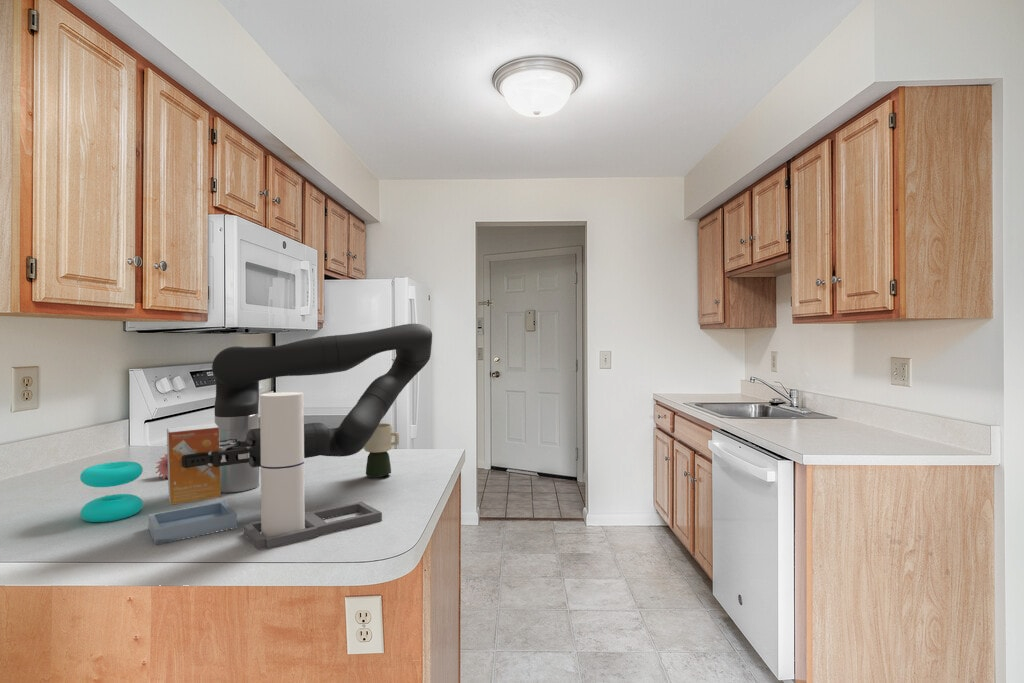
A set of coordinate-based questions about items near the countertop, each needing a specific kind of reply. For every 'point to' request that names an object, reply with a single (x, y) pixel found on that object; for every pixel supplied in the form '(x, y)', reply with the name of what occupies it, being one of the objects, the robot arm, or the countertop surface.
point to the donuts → (112, 504)
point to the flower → (163, 466)
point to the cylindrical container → (282, 463)
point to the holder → (315, 525)
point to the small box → (193, 479)
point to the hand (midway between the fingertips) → (179, 458)
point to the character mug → (380, 450)
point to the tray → (191, 522)
